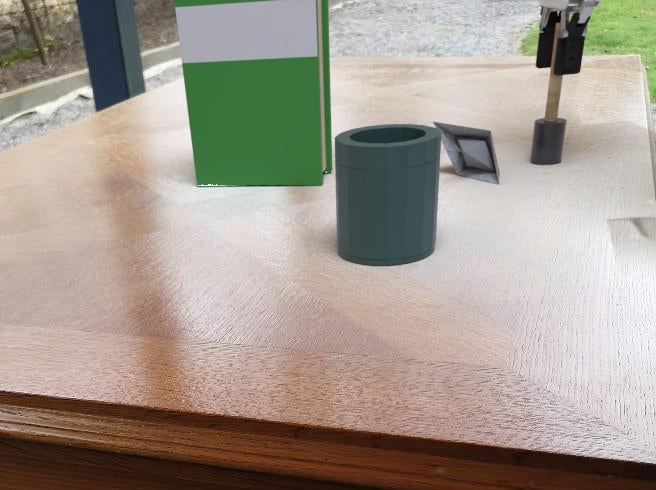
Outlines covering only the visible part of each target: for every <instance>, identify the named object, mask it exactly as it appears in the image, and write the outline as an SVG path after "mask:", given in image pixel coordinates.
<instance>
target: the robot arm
mask: <svg viewBox="0 0 656 490" xmlns="http://www.w3.org/2000/svg"><path fill="white" fill-rule="evenodd" d="M537 1H538V3H539V4H540V7H541V9H540V12H539V14H540V20H539V25H538V31H539V32H538V41H537V47H536V48H537V49H536V56H535V68H536V69H538V70H539V69H549V68H550V69H551V62H552V53H553V45H554V37H555V29H556V23H558V22H561V38H557V46H556V54H555V62H554V70H553V73H554V75H557V76H558V75H563V76H568V75H577V74H579V73H580V72H581V69H582V62H583V57H584V56H583V54H584V47H585V41H586V36H587V34H588V24H589V21H590V20H591V15H592V13H593V11H594V9H595V8H596V7H598V6H600V5H601V3H602V2H603V0H537ZM571 15H572V16H571ZM570 16H571V18H570Z"/></svg>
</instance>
